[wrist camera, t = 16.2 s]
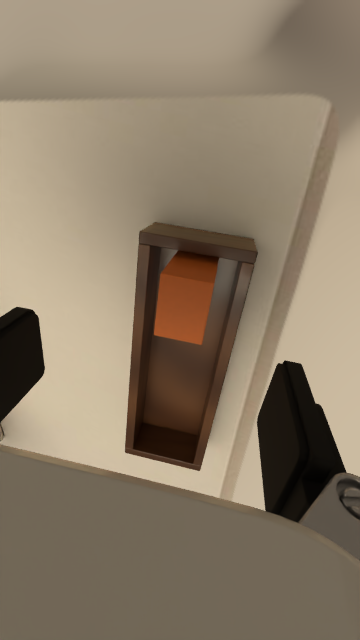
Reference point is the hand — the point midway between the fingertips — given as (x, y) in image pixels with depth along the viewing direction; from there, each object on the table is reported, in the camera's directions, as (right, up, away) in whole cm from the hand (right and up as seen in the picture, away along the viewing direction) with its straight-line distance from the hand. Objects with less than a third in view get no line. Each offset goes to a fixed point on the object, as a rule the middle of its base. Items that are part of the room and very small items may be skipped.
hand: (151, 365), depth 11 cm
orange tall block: (+2, +5, +12) cm, 13 cm away
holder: (+1, -1, +16) cm, 16 cm away
